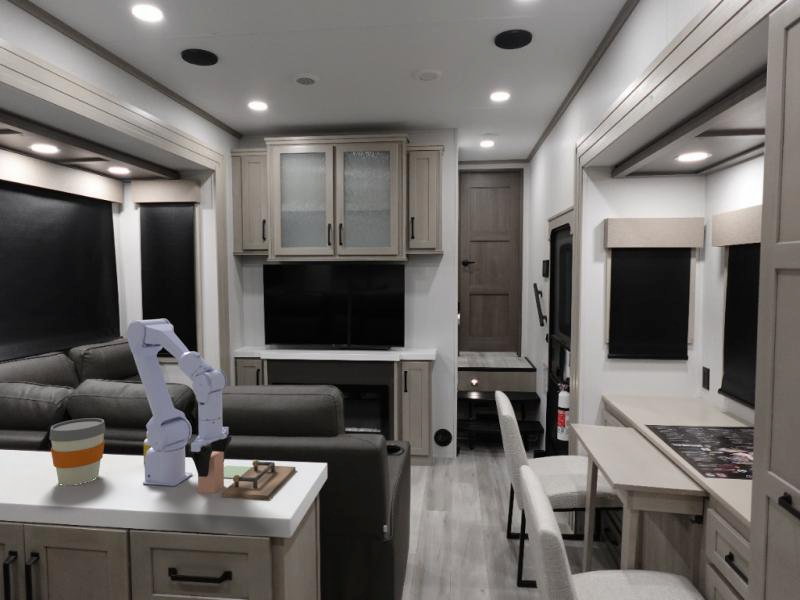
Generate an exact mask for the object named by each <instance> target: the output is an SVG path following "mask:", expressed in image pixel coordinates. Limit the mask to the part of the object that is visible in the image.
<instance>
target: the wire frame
mask: <svg viewBox="0 0 800 600" xmlns="http://www.w3.org/2000/svg"><path fill="white" fill-rule="evenodd" d="M251 467H252V468H251V469H250V470H248V471H247V472H246V473H245V474H244V475H242V476H241V477H240V476H239V475H235V476H234V477H233V479H232V481H233V482H232V483H231V484H230V485H229V486H228V487H226V488H225V489H224V490H223V491H222V492H220V495H221V497H223V498H235V499H249V500H250V499H252V500H266V501H267V500H269V499H270V498H271V497H272V495H274V493H276V491H278V489H279V488H281V486H282V485H284V483H285V482H286V481H287V480H288V479H289V477H291V476H292V475H293V473H294V472H295V471H296V466H285V465H276V463H275V462H274V461H259V460H258V459H253V461H252V466H251Z"/></svg>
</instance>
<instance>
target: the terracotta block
mask: <svg viewBox="0 0 800 600" xmlns="http://www.w3.org/2000/svg"><path fill="white" fill-rule="evenodd" d="M224 462H225V459H224V452H218V451H213V452H212V454H211V457H210V462H209V472H208V476H207V477H199V476H198V475H197V492H198V493H203V494H204V493H206V494H216V493H217V492H218V491H219V490H221V489H222V488H223V487H224V486H225V478H224V467H225V465H224Z"/></svg>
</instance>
